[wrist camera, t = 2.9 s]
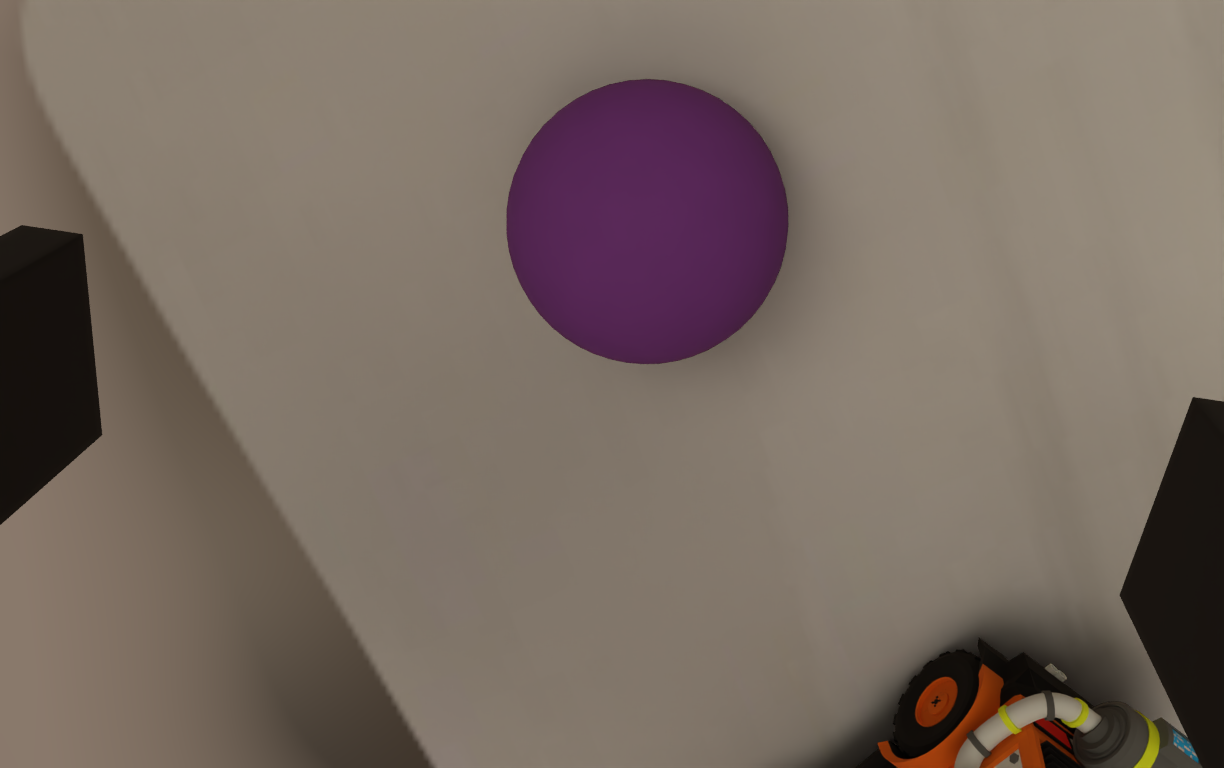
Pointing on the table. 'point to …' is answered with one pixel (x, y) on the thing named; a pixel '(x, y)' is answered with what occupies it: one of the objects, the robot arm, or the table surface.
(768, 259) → the ball
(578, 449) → the table surface
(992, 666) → the toy car
